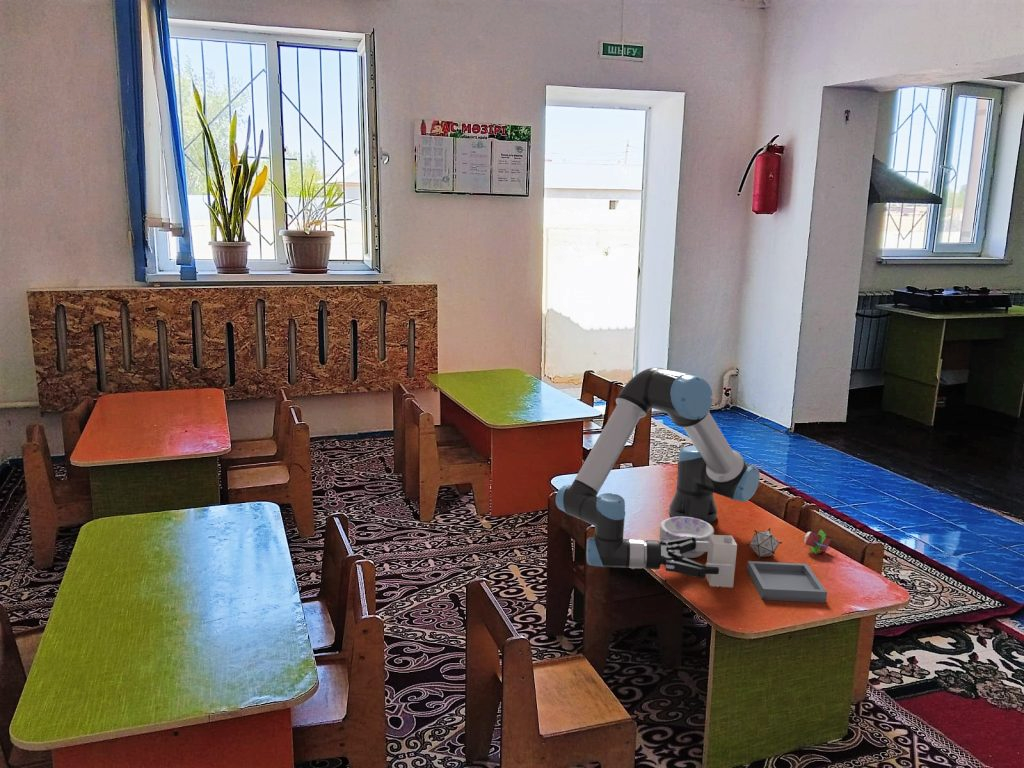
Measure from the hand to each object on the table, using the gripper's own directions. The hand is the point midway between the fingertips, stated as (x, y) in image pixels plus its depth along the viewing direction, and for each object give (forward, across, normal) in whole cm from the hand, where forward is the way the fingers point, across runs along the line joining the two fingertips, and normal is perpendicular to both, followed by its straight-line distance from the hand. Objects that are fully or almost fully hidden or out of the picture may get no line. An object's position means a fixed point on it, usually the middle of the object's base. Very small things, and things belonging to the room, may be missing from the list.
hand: (725, 558), depth 203 cm
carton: (-1, 0, -7) cm, 7 cm away
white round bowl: (-7, -18, -7) cm, 21 cm away
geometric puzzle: (+32, -22, -7) cm, 40 cm away
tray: (+16, +1, -7) cm, 17 cm away
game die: (+15, -17, -7) cm, 24 cm away
